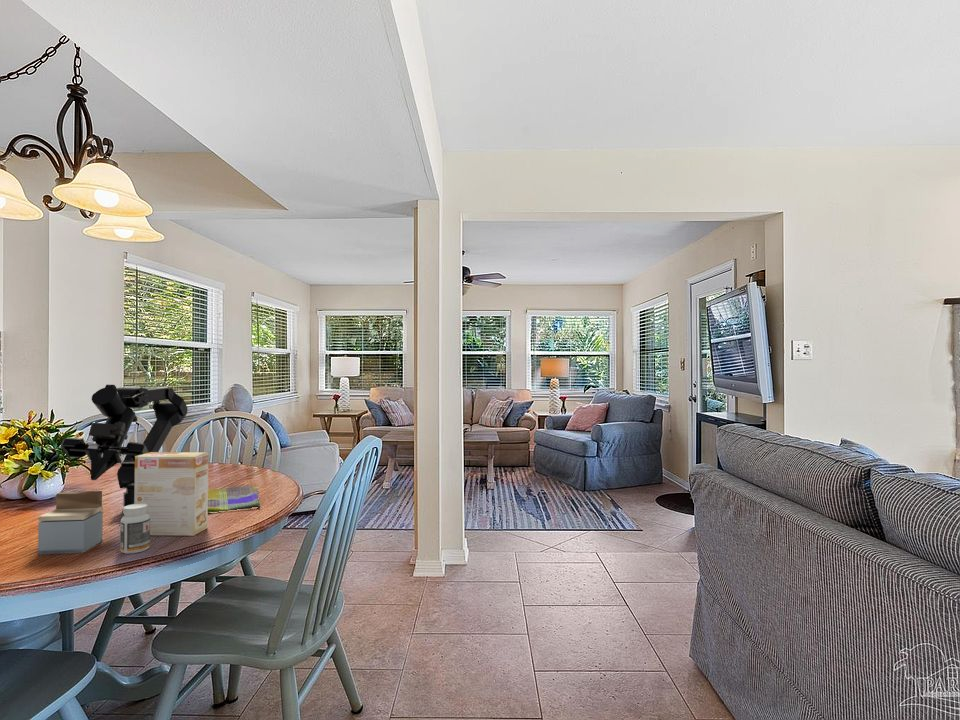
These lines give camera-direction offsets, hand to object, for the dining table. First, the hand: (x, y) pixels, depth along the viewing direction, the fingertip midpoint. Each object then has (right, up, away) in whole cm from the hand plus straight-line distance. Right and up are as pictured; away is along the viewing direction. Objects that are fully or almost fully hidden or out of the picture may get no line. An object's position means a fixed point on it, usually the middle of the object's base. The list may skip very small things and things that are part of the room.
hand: (92, 479), depth 135 cm
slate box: (+4, -13, -12) cm, 18 cm away
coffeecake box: (+19, -13, 0) cm, 23 cm away
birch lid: (+4, -6, -12) cm, 14 cm away
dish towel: (+20, -14, +30) cm, 38 cm away
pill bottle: (+19, -13, -13) cm, 26 cm away
